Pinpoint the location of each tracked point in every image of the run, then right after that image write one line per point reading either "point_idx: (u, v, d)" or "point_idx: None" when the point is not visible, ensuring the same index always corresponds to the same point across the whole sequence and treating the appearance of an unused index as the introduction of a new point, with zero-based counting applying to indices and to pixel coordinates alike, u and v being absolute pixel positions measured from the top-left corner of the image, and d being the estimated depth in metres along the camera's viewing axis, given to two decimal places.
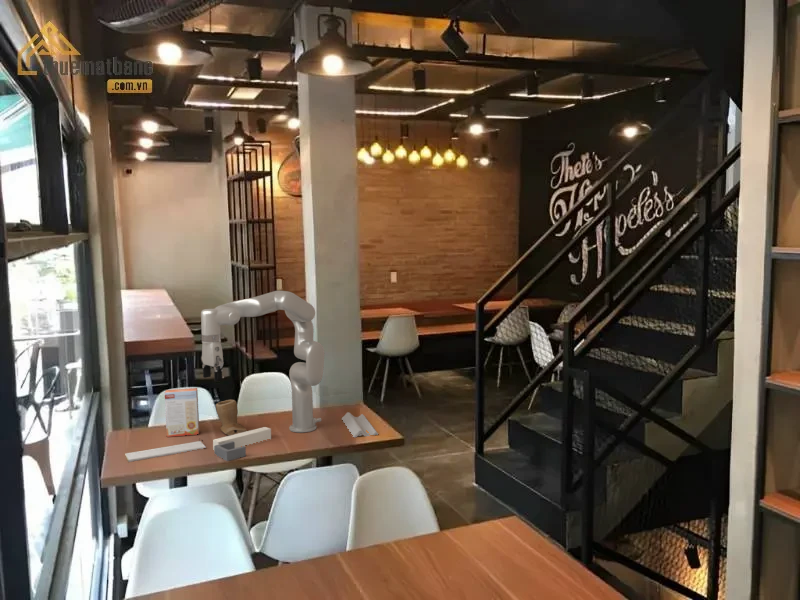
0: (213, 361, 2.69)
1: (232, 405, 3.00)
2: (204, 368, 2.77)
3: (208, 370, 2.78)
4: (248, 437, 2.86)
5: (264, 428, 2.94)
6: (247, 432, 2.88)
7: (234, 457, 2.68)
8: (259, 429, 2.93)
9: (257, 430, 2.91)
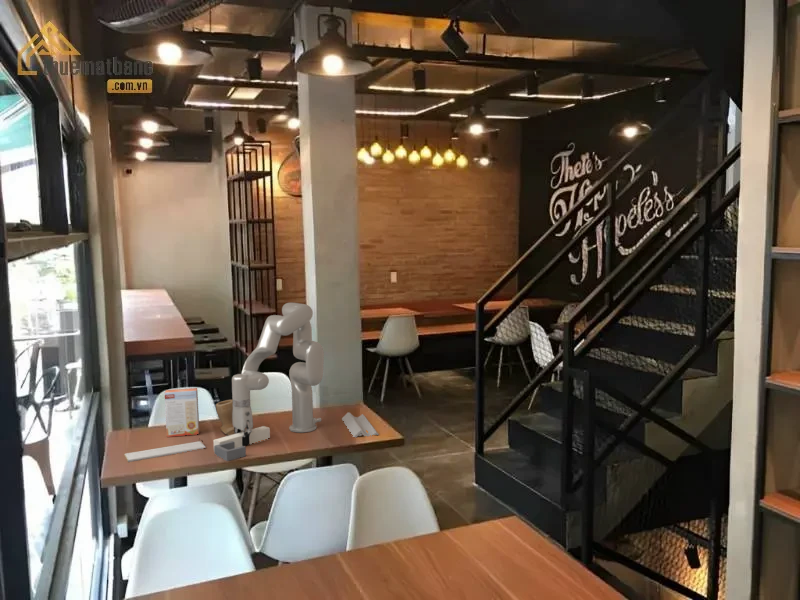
0: (243, 425, 2.81)
1: (232, 405, 3.00)
2: None
3: None
4: None
5: (263, 427, 2.95)
6: None
7: (234, 457, 2.68)
8: (258, 428, 2.93)
9: (256, 429, 2.91)
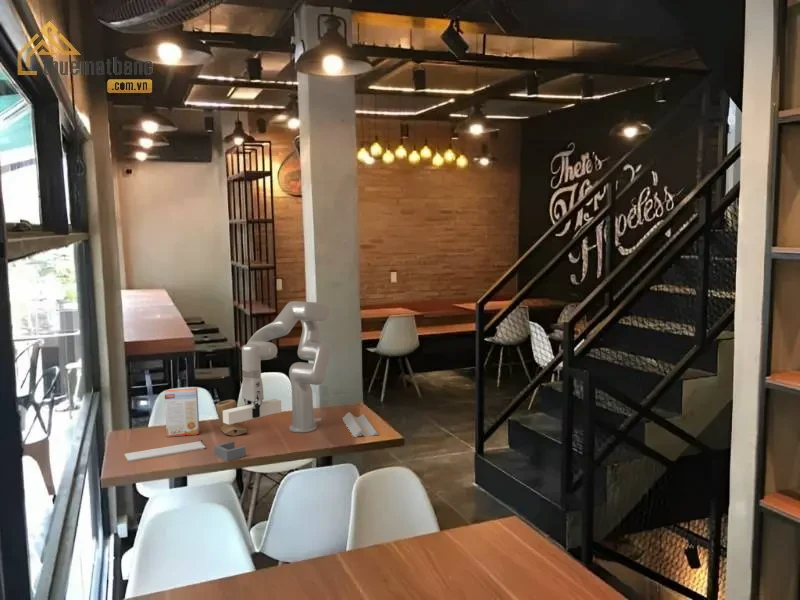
0: (254, 396, 2.73)
1: (232, 405, 3.00)
2: None
3: None
4: None
5: (274, 400, 2.86)
6: None
7: (234, 457, 2.68)
8: (269, 401, 2.85)
9: (267, 402, 2.83)
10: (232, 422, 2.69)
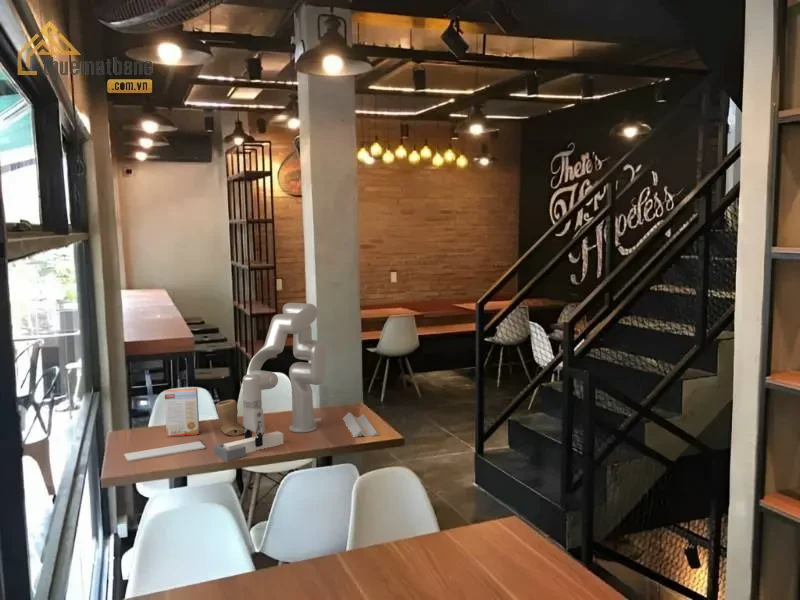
0: (255, 427, 2.74)
1: (232, 405, 3.00)
2: (246, 433, 2.81)
3: (250, 435, 2.83)
4: None
5: (276, 432, 2.88)
6: None
7: (234, 457, 2.68)
8: (271, 433, 2.86)
9: (269, 434, 2.85)
10: None
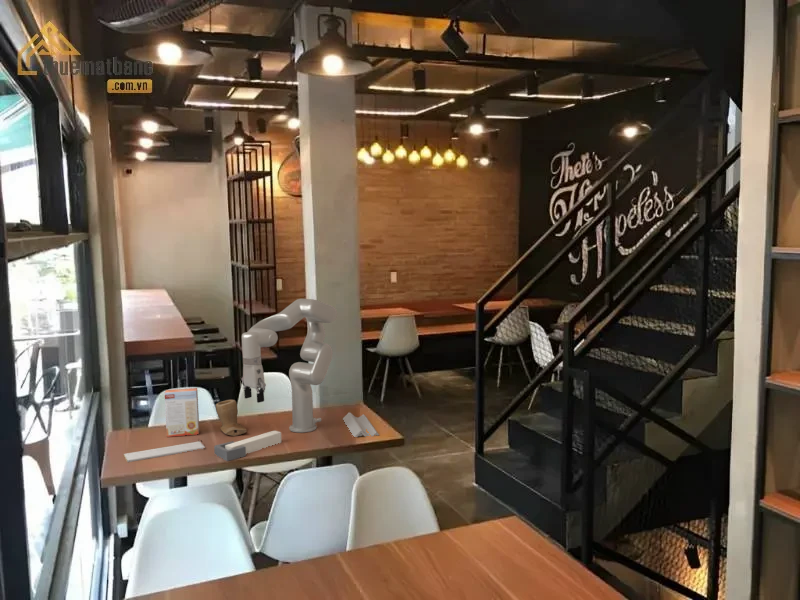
0: (255, 383, 2.76)
1: (232, 405, 3.00)
2: (245, 389, 2.84)
3: (249, 391, 2.85)
4: (260, 441, 2.80)
5: (274, 432, 2.89)
6: (258, 436, 2.82)
7: (234, 457, 2.68)
8: (269, 433, 2.87)
9: (267, 434, 2.85)
10: None
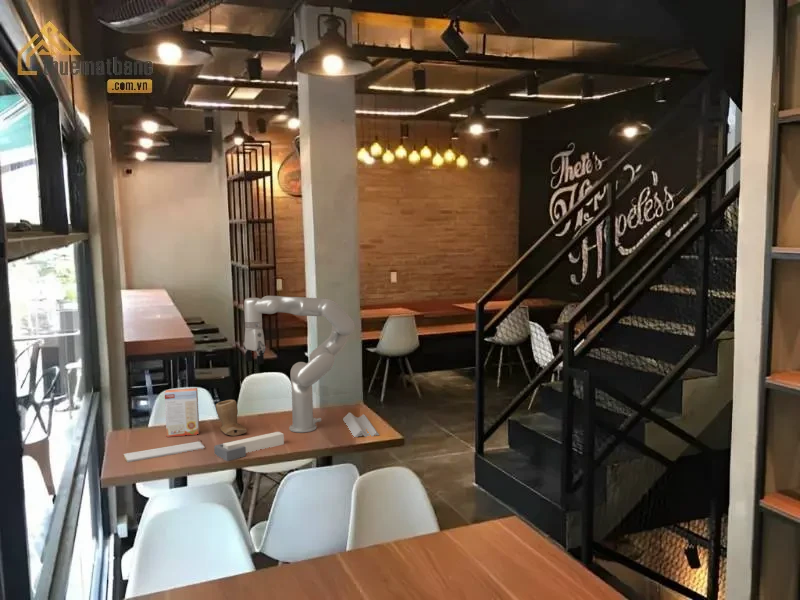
0: (256, 346, 2.92)
1: (232, 405, 3.00)
2: (246, 353, 3.00)
3: (250, 355, 3.01)
4: (259, 441, 2.79)
5: (277, 433, 2.87)
6: (259, 436, 2.82)
7: (234, 457, 2.68)
8: (272, 434, 2.86)
9: (269, 435, 2.84)
10: None
